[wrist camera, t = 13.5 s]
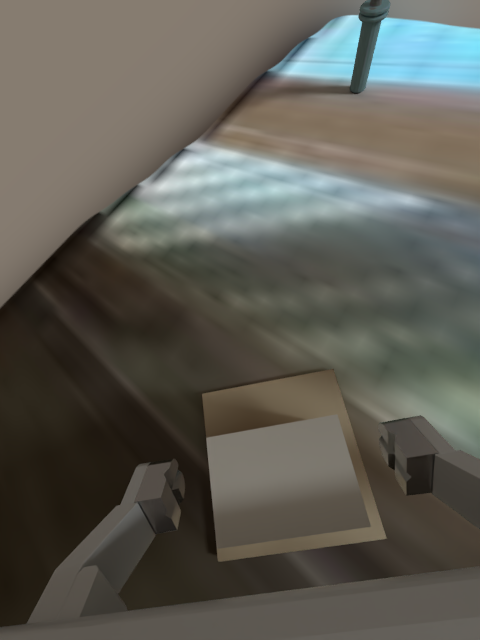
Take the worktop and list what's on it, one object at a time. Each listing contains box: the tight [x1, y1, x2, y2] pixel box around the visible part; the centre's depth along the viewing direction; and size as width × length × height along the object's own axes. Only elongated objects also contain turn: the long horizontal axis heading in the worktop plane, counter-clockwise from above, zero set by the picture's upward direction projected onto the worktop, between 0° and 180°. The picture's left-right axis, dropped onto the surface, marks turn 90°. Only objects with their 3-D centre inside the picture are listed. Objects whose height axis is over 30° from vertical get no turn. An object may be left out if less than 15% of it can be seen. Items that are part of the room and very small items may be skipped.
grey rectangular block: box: [206, 414, 371, 549], centre depth 12 cm, size 3×5×8 cm
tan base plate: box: [202, 369, 387, 562], centre depth 13 cm, size 9×9×8 cm
